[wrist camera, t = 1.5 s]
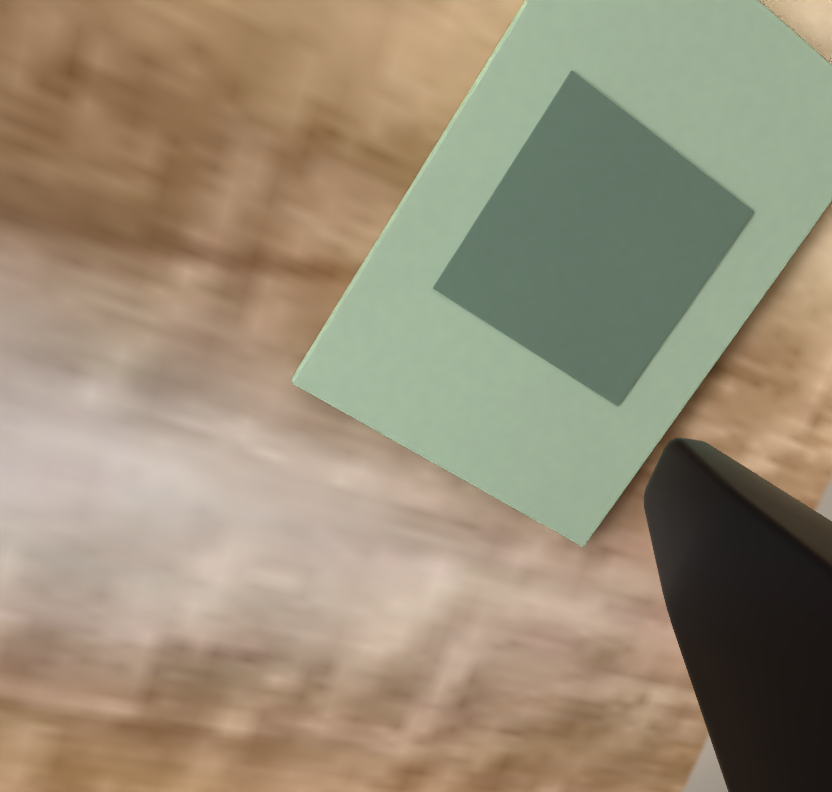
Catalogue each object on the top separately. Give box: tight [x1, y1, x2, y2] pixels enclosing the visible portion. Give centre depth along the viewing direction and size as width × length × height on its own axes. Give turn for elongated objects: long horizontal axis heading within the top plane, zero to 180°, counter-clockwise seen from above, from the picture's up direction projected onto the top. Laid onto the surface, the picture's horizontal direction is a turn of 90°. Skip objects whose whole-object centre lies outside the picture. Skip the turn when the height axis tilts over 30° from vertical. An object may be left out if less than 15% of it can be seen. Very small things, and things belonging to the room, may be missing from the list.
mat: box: [292, 0, 832, 547], centre depth 23 cm, size 16×11×1 cm
